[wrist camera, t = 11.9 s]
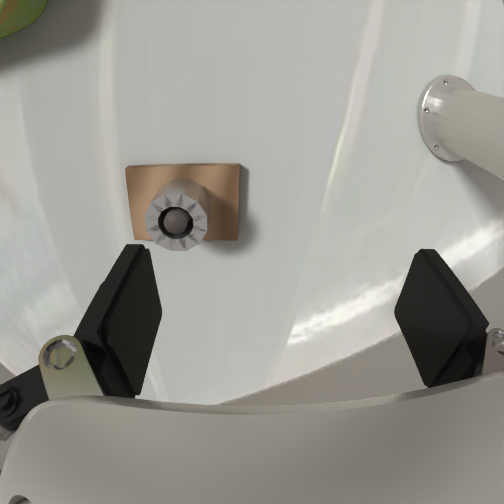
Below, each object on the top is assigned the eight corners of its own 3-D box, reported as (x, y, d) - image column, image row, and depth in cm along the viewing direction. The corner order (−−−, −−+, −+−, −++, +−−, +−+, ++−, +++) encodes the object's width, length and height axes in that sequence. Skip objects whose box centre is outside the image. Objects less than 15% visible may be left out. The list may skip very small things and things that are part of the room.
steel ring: (210, 178, 35) (206, 193, 31) (210, 230, 39) (208, 250, 35) (153, 179, 35) (141, 194, 30) (158, 229, 38) (149, 250, 34)
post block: (239, 163, 36) (240, 180, 30) (237, 235, 41) (238, 262, 36) (128, 166, 35) (110, 182, 29) (136, 235, 40) (123, 260, 35)
